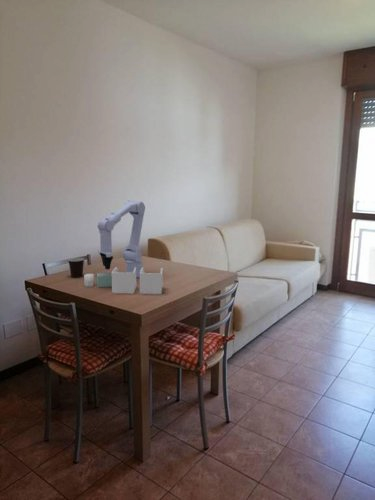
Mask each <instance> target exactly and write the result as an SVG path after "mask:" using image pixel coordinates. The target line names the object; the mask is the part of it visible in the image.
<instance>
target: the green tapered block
mask: <svg viewBox="0 0 375 500" xmlns="http://www.w3.org/2000/svg"><path fill="white" fill-rule="evenodd" d="M96 285H97V288H107V287H112V272H103V273H102V272H101V273H96Z"/></svg>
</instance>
